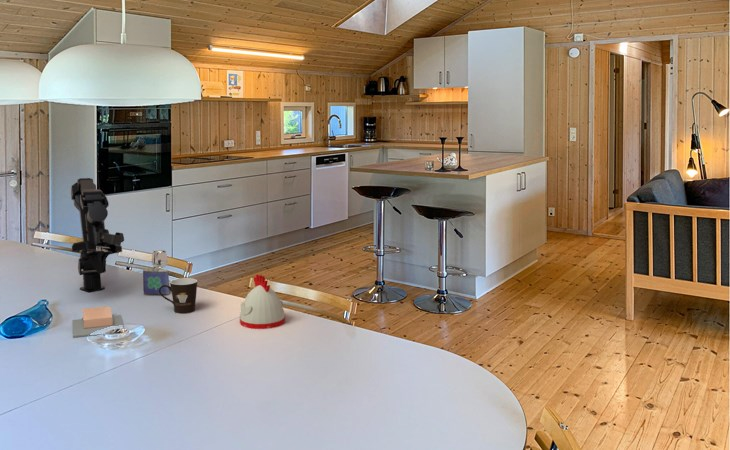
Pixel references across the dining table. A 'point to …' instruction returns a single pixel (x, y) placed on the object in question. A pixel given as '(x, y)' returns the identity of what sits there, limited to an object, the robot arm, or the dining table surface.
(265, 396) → the dining table surface
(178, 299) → the coffee mug
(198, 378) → the dining table surface
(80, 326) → the mat
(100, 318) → the tile
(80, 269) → the robot arm
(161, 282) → the flask
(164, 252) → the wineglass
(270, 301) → the kitchen timer
